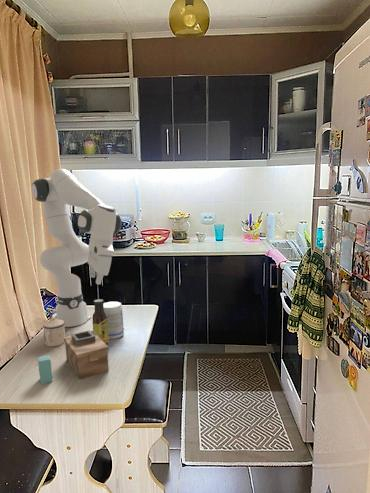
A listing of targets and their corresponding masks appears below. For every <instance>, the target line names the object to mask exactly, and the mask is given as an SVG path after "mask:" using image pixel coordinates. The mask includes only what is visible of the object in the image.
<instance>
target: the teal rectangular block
mask: <svg viewBox="0 0 370 493" xmlns="http://www.w3.org/2000/svg"><path fill="white" fill-rule="evenodd" d="M37 361H38V373H39V381H40V384H41V385H43V384H46V383H51V382H53V372H52V361H51V356H50V354H48V355H43V356H42V355H41V356H37Z"/></svg>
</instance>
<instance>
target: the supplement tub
mask: <svg viewBox="0 0 370 493" xmlns="http://www.w3.org/2000/svg"><path fill="white" fill-rule="evenodd" d="M103 308H104V312H105V314H106V316H107V324H108V340H113V339H115V340H116V339H119V338H121V337H123V335H124V333H125V332H124V331H125V330H124V329H125V328H124V327H125V326H124V316H123V305H122V302H119V301H108V302H104V303H103Z"/></svg>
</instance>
